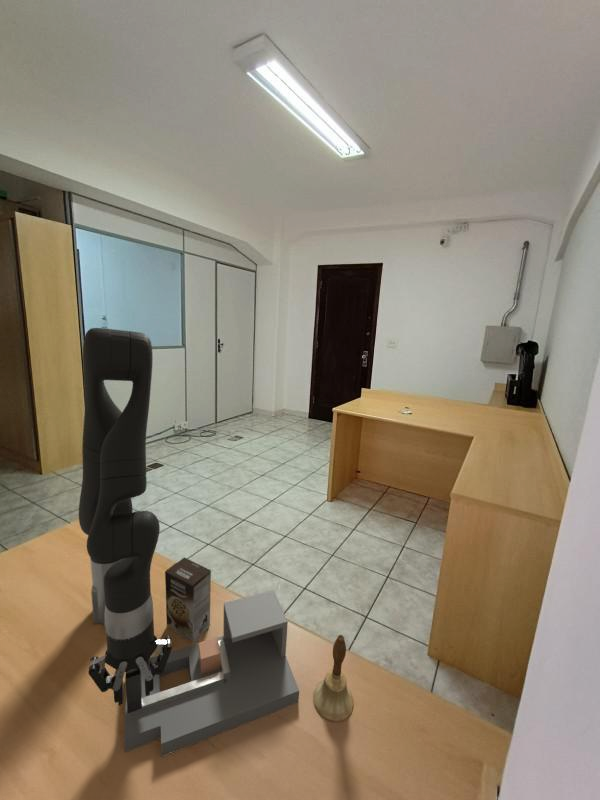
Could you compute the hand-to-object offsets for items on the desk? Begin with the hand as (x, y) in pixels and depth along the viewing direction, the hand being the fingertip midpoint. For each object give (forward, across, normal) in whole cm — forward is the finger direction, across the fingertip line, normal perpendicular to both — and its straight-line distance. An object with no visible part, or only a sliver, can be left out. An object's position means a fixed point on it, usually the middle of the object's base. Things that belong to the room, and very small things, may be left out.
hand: (134, 695), depth 65 cm
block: (+3, -14, -4) cm, 15 cm away
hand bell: (+7, -37, +10) cm, 39 cm away
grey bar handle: (+3, -8, -3) cm, 9 cm away
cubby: (+6, -14, -1) cm, 16 cm away
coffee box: (+7, -11, -18) cm, 23 cm away
